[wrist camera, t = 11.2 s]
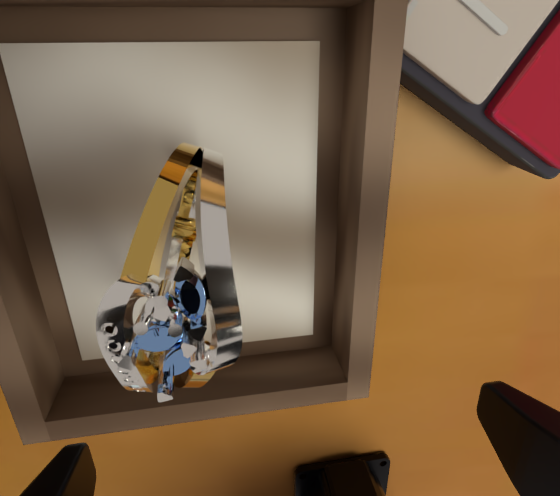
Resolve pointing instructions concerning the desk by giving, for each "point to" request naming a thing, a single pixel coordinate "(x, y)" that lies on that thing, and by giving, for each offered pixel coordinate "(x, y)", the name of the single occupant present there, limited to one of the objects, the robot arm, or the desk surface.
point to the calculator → (491, 73)
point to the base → (143, 175)
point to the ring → (175, 285)
